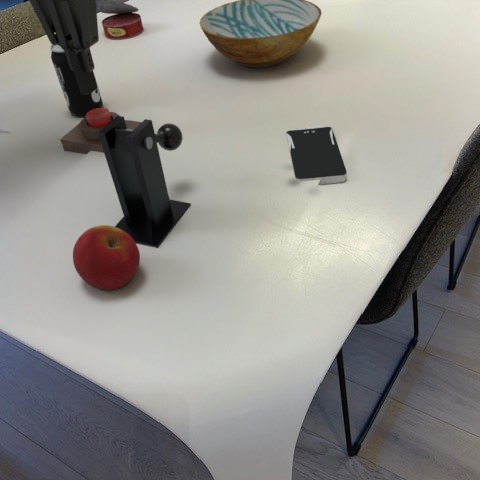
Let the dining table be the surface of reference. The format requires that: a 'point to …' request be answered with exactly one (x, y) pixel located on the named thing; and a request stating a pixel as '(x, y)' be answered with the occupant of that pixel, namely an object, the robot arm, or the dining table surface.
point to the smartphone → (316, 155)
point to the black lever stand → (141, 184)
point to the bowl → (260, 29)
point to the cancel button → (98, 117)
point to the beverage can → (73, 85)
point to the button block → (88, 136)
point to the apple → (106, 257)
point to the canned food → (120, 20)
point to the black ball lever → (165, 137)
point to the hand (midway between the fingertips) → (89, 91)
